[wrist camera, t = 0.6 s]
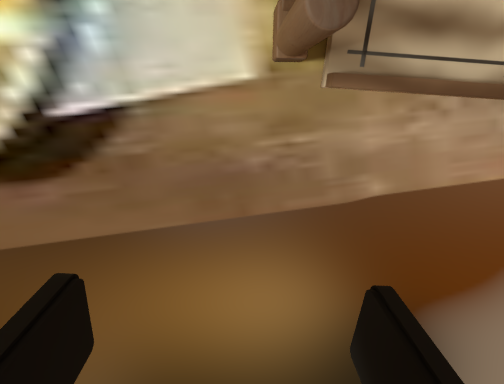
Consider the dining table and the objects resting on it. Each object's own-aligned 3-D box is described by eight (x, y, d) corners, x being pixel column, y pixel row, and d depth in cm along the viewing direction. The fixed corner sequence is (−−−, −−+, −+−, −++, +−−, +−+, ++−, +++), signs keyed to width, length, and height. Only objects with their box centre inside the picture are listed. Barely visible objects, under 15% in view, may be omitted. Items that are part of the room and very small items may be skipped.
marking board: (342, -71, 30) (358, -97, 26) (583, -47, 32) (635, -68, 28) (320, 87, 36) (331, 86, 31) (527, 101, 37) (564, 102, 33)
